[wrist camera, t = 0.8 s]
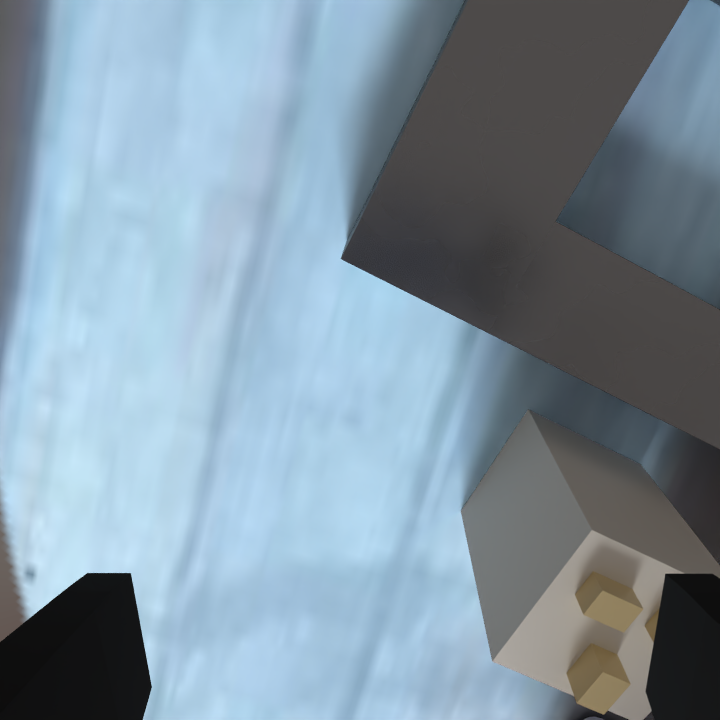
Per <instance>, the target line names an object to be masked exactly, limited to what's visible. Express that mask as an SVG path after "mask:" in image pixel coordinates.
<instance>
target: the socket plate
mask: <svg viewBox="0 0 720 720" xmlns="http://www.w3.org/2000/svg"><path fill="white" fill-rule="evenodd" d="M688 1H689V0H465V2H464V4H463V6H462V8H461V10H460V12H459V14H458V16H457V18H456V20H455V22H454V24H453V26H452V28H451V30H450V32H449V34H448V36H447V38H446V40H445V42H444V44H443V46H442V48H441V50H440V52H439V54H438V56H437V59H436V61H435V63H434V65H433V67H432V69H431V71H430V73H429V75H428V77H427V79H426V81H425V83H424V85H423V87H422V89H421V91H420V93H419V95H418V97H417V99H416V101H415V103H414V105H413V107H412V109H411V111H410V113H409V115H408V118H407V120H406V122H405V124H404V126H403V128H402V130H401V132H400V134H399V136H398V138H397V140H396V142H395V144H394V146H393V148H392V150H391V152H390V154H389V156H388V158H387V160H386V162H385V164H384V166H383V168H382V170H381V172H380V174H379V176H378V179H377V181H376V183H375V185H374V187H373V189H372V191H371V193H370V195H369V197H368V199H367V201H366V203H365V205H364V207H363V209H362V211H361V213H360V215H359V217H358V219H357V221H356V223H355V225H354V227H353V229H352V231H351V233H350V235H349V238H348V240H347V242H346V244H345V247H344V251H343V254H342V257H341V259H342V260H344V261H346V262H348V263H350V264H352V265H354V266H356V267H358V268H360V269H362V270H364V271H366V272H368V273H370V274H372V275H374V276H376V277H378V278H380V279H382V280H384V281H386V282H388V283H390V284H392V285H394V286H396V287H398V288H400V289H402V290H404V291H406V292H408V293H410V294H412V295H414V296H416V297H418V298H420V299H421V300H423V301H425V302H427V303H429V304H431V305H433V306H435V307H437V308H439V309H441V310H443V311H445V312H447V313H449V314H451V315H453V316H455V317H457V318H459V319H461V320H463V321H465V322H467V323H469V324H471V325H473V326H475V327H477V328H479V329H481V330H483V331H485V332H487V333H489V334H491V335H493V336H495V337H497V338H499V339H501V340H503V341H505V342H507V343H509V344H511V345H513V346H515V347H517V348H519V349H521V350H523V351H525V352H527V353H529V354H531V355H533V356H535V357H537V358H539V359H541V360H543V361H545V362H547V363H549V364H551V365H553V366H555V367H557V368H559V369H561V370H563V371H565V372H567V373H569V374H571V375H573V376H575V377H577V378H579V379H581V380H583V381H585V382H587V383H589V384H591V385H593V386H595V387H597V388H599V389H601V390H603V391H605V392H607V393H609V394H611V395H613V396H615V397H617V398H619V399H621V400H623V401H625V402H627V403H629V404H631V405H633V406H635V407H637V408H638V409H640V410H642V411H644V412H646V413H648V414H650V415H652V416H654V417H656V418H658V419H660V420H662V421H664V422H666V423H668V424H670V425H672V426H674V427H676V428H678V429H680V430H682V431H684V432H686V433H688V434H690V435H692V436H694V437H696V438H698V439H700V440H702V441H704V442H706V443H708V444H710V445H712V446H714V447H716V448H718V449H720V309H718V308H716V307H714V306H712V305H710V304H708V303H706V302H705V301H703V300H701V299H699V298H697V297H695V296H693V295H692V294H690V293H688V292H686V291H684V290H682V289H680V288H679V287H677V286H675V285H673V284H671V283H669V282H667V281H665V280H664V279H662V278H660V277H658V276H656V275H654V274H652V273H651V272H649V271H647V270H645V269H643V268H641V267H639V266H638V265H636V264H634V263H632V262H630V261H628V260H626V259H624V258H623V257H621V256H619V255H617V254H615V253H613V252H611V251H610V250H608V249H606V248H604V247H602V246H600V245H598V244H597V243H595V242H593V241H591V240H589V239H587V238H585V237H583V236H582V235H580V234H578V233H576V232H574V231H572V230H570V229H569V228H567V227H565V226H563V225H561V224H559V223H557V222H555V221H556V220H557V218H558V216H559V215H560V213H561V211H562V210H563V208H564V206H565V205H566V203H567V201H568V200H569V198H570V196H571V195H572V193H573V191H574V190H575V188H576V186H577V185H578V183H579V182H580V180H581V178H582V177H583V175H584V173H585V172H586V170H587V168H588V167H589V165H590V163H591V162H592V160H593V158H594V157H595V155H596V153H597V152H598V150H599V148H600V147H601V145H602V143H603V142H604V140H605V138H606V137H607V135H608V134H609V132H610V130H611V129H612V127H613V125H614V124H615V122H616V120H617V119H618V117H619V115H620V114H621V112H622V110H623V109H624V107H625V105H626V104H627V102H628V100H629V99H630V97H631V95H632V94H633V92H634V91H635V89H636V87H637V86H638V84H639V82H640V81H641V79H642V77H643V76H644V74H645V72H646V71H647V69H648V67H649V66H650V64H651V62H652V61H653V59H654V57H655V56H656V54H657V52H658V51H659V49H660V47H661V46H662V44H663V43H664V41H665V39H666V38H667V36H668V34H669V33H670V31H671V29H672V28H673V26H674V24H675V23H676V21H677V19H678V18H679V16H680V14H681V13H682V11H683V9H684V8H685V6H686V4H687V3H688ZM711 1H713V2H714V3H716V4H718V5H719V6H720V0H711Z"/></svg>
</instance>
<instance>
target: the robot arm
mask: <svg viewBox="0 0 720 720" xmlns="http://www.w3.org/2000/svg"><path fill="white" fill-rule="evenodd" d="M151 688H152V686H151V680H150V675H149V670H148V664H147V659H146V653H145V648H144V642H143V637H142V632H141V626H140V621H139V615H138V610H137V604H136V599H135V594H134V588H133V583H132V577H131V573H87V574H86V575H84V576H83V577H82V578H80V579H79V580H78V581H76V582H75V583H73V584H72V585H71V586H70V587H68V588H67V589H66V590H64V591H63V592H62V593H61V594H59V595H58V596H57V597H56V598H54V599H53V600H52V601H51V602H49V603H48V604H47V605H46V606H44V607H43V608H42V609H41V610H39V611H38V612H37V613H36V614H34V615H33V616H32V617H31V618H29V619H28V620H27V621H26V622H25V623H23V624H22V625H21V626H20V627H18V628H17V629H16V630H15V631H13V632H12V633H11V634H10V635H9V636H7V637H6V638H5V639H4V640H2V641H1V642H0V720H143V716H144V713H145V709H146V706H147V702H148V699H149V695H150V692H151ZM645 692H646V695H647V698H648V701H649V704H650V707H651V710H652V713H653V716H654V719H655V720H720V578H718V577H717V576H716V575H714V574H665V579H664V585H663V591H662V597H661V602H660V608H659V614H658V620H657V626H656V632H655V638H654V644H653V650H652V655H651V661H650V667H649V673H648V679H647V685H646V691H645ZM584 720H604V719H601V718H598V717H588V718H585V719H584Z"/></svg>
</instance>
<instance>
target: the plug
mask: <svg viewBox="0 0 720 720" xmlns="http://www.w3.org/2000/svg"><path fill="white" fill-rule="evenodd" d="M461 514H462V519H463V524H464V529H465V534H466V538H467V543H468V548H469V553H470V557H471V562H472V567H473V572H474V576H475V581H476V586H477V591H478V596H479V600H480V605H481V610H482V615H483V619H484V624H485V629H486V634H487V638H488V643H489V648H490V653H491V657H492V661H493V662H495V663H497V664H500V665H502V666H504V667H507V668H509V669H511V670H514V671H516V672H518V673H521V674H523V675H525V676H528V677H530V678H533V679H535V680H537V681H540V682H542V683H544V684H547V685H549V686H551V687H554V688H556V689H558V690H561V691H563V692H565V693H568V694H570V695H572V696H574V697H575V700H576V703H577V704H579V705H582V706H584V707H587V708H589V709H591V710H594V711H596V712H598V713H601V714H603V715H604V714H605V713H606V712H607V711H610V712H612V713H615V714H617V715H620V716H622V717H624V718H627V719H629V720H644V718H645V717H646V716H647V715H648V714H649V713H650V712H651V711H652V710H651V707H650V704H649V701H648V698H647V695H646V692H645V691H646V685H647V679H648V673H649V667H650V661H651V655H652V650H653V644H654V638H655V632H656V626H657V620H658V614H659V608H660V602H661V597H662V591H663V585H664V579H665V574H714V575H716V576H717V577H718V578H720V565H719V564H718V563H717V561H716V560H715V559H714V558H713V556H712V555H711V554H710V552H709V551H708V550H707V549H706V547H705V546H704V545H703V543H702V542H701V541H700V540H699V538H698V537H697V536H696V534H695V533H694V532H693V531H692V529H691V528H690V527H689V526H688V524H687V523H686V522H685V520H684V519H683V518H682V517H681V515H680V514H679V513H678V511H677V510H676V509H675V508H674V506H673V505H672V504H671V502H670V501H669V500H668V499H667V497H666V496H665V495H664V493H663V492H662V491H661V490H660V488H659V487H658V486H657V484H656V483H655V482H654V481H653V479H652V478H651V477H650V476H649V474H648V473H647V472H646V470H645V469H644V468H643V467H642V465H641V464H639V463H637V462H635V461H633V460H631V459H629V458H627V457H625V456H623V455H621V454H619V453H617V452H615V451H612V450H610V449H608V448H606V447H604V446H602V445H600V444H598V443H596V442H594V441H592V440H590V439H588V438H586V437H584V436H582V435H580V434H578V433H576V432H574V431H572V430H570V429H567V428H565V427H563V426H561V425H559V424H557V423H555V422H553V421H551V420H549V419H547V418H545V417H543V416H541V415H539V414H537V413H535V412H533V411H531V410H529V409H528V410H527V411H526V413H525V415H524V416H523V418H522V419H521V421H520V422H519V424H518V425H517V427H516V428H515V430H514V431H513V433H512V434H511V436H510V437H509V439H508V440H507V442H506V443H505V445H504V446H503V448H502V449H501V451H500V452H499V454H498V455H497V457H496V459H495V460H494V462H493V463H492V465H491V466H490V468H489V469H488V471H487V472H486V474H485V475H484V477H483V478H482V480H481V481H480V483H479V484H478V486H477V487H476V489H475V490H474V492H473V493H472V495H471V496H470V498H469V500H468V501H467V503H466V504H465V506H464V507H463V509H462V510H461Z"/></svg>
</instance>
